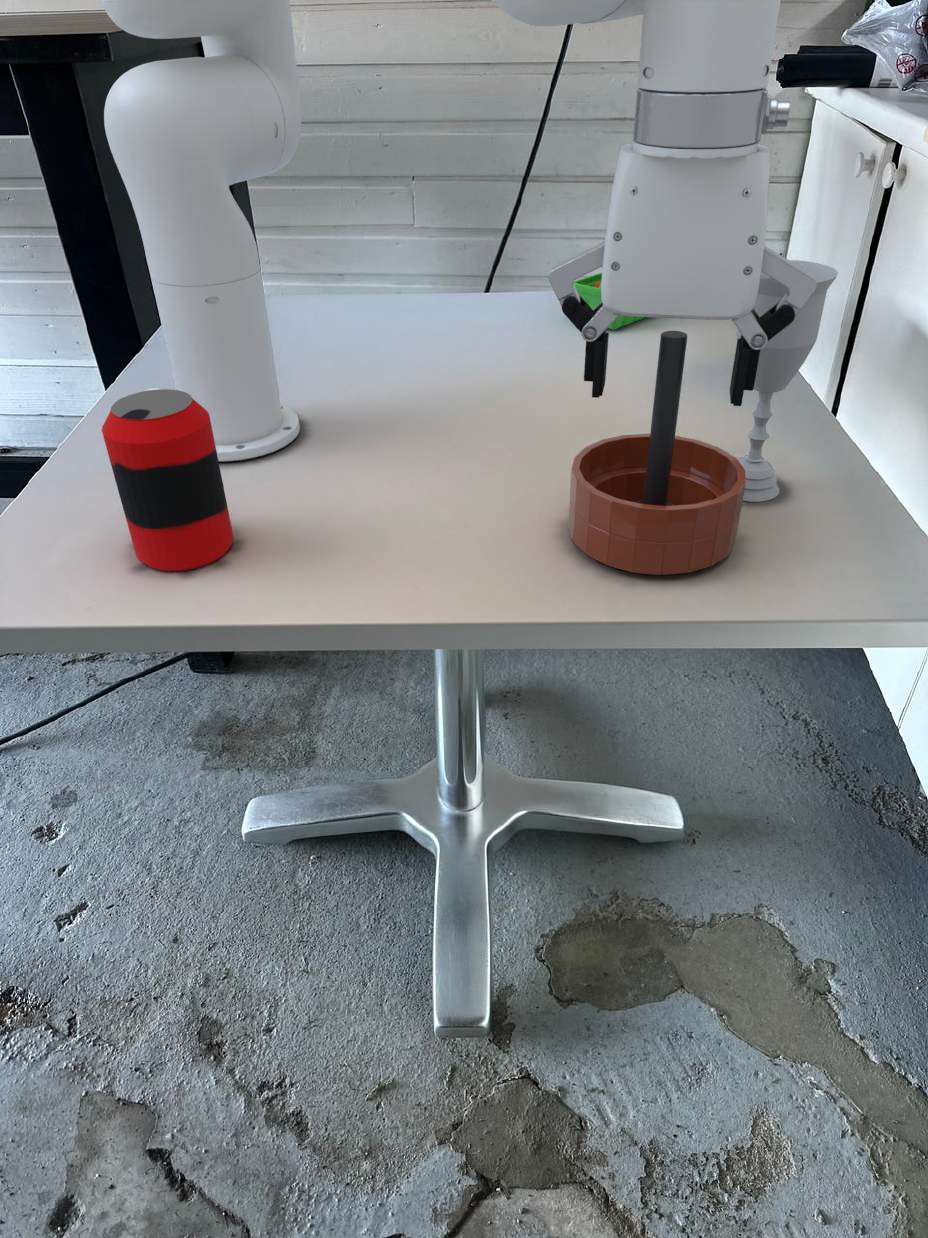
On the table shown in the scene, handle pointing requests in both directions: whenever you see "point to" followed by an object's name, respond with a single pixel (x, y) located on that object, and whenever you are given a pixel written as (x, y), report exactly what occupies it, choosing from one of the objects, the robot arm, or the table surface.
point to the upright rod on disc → (664, 417)
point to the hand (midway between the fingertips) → (665, 394)
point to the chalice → (780, 369)
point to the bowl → (655, 506)
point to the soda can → (168, 479)
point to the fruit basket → (599, 298)
